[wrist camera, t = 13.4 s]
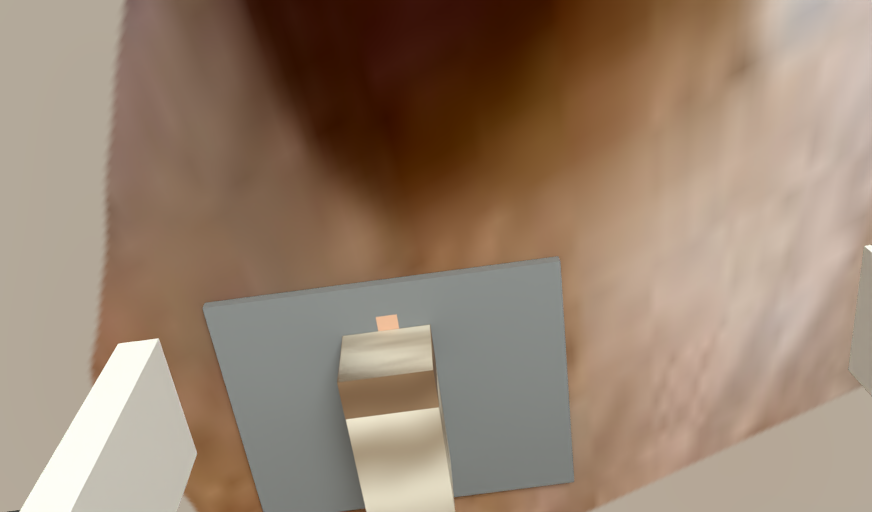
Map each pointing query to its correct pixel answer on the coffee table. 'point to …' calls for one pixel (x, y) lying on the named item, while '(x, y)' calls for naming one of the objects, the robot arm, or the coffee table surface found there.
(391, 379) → the cream block
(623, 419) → the coffee table surface
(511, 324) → the mat
